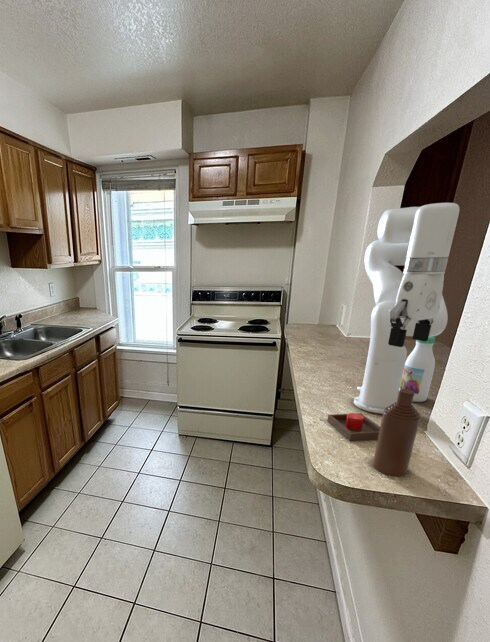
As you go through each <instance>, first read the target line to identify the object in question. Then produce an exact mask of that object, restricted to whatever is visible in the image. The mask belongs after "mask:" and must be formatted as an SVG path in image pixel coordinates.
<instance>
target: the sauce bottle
mask: <svg viewBox="0 0 490 642" xmlns="http://www.w3.org/2000/svg"><path fill="white" fill-rule="evenodd" d="M414 395H415V394H414V391H412V390H408V389H400V390H399V391H398V397H397V402H395V403H394V404H392V405H390V406H388V407H386V408H385V410H384V412H383V414H382V417H381V422H380V425H379V427H380V431H379V436H378V439H377V441H376V445H375V451H374V455H373V460H372V466H373V468H374V469H375V470H377V471H378V472H380V473H381V474H385V475H388V476H392V477H403V476H405V475H406V474H407V473H408V470H409V465H410V461H411V457H412V453H413V449H414V445H415V442H416V437H417V433H418V429H419V425H420V421H421V415H420V413H419V411H418V410H417V409H416V407H414V405H413V402H414V401H413V397H414Z"/></svg>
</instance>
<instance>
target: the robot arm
mask: <svg viewBox="0 0 490 642" xmlns="http://www.w3.org/2000/svg"><path fill="white" fill-rule="evenodd" d="M459 214H460V206H459V204H457V203H456V202H436V203H429V204H424V205H421V206H409V207H399V208H390V209H386V210H385V211H384V212H383V213H382V215H381V216H380V219H379V221H378V224H377V233H376V235H377V239H375V240H374V241H372V242H370V243H369V244H368V246H367V247H366V250H365V253H364V269H365V272H366V275H367V278H368V279H369V281H370V283H371V284H372V290H373V299H374V303H375V306H374V307H373V309H372V311H371V315H370V336H369V337H370V338H369V346H368V352H367V356H366V357H367V358H366V363H365V369H364V374H363V380H362V385H360V386H359V385H358V386H357V388H356V390H357V391H358V392H359V395H358V396H356V397H354V399H353V404H354V405H355V407H357V408H359V409H361V410H363V411H366V412H369V413H373V414H378V415H379V414H380V415H383V412H384V410H385V408H386V407H388V406H390V405H392V404H394V403H395V402H397V398H398V391H399V388H400V383H401V379H402V374H403V370H404V366H405V362H406V360H407V357H408V356H407V355H408V351H407V348H406V346H405V341H406V337H412V340H414V341H416V340H419V341H428V337H436V336H439V335H440V334H442V333H443V332H444V331H445V330H446V328H447V325H448V319H449V317H448V309H447V306H446V302H445V299H444V296H443V292H444V291H443V290H444V281H445V273H446V269H447V265H448V261H449V257H450V252H451V248H452V245H453V239H454V236H455V231H456V227H457V223H458V220H459V216H460V215H459ZM397 266H403V271H402V270H401V269H400V268H398V267H397Z"/></svg>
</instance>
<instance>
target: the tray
mask: <svg viewBox="0 0 490 642" xmlns="http://www.w3.org/2000/svg"><path fill="white" fill-rule="evenodd" d="M355 413H356V414H360V415H362V416H363V417H364V418H363V425H362V429H361V430H351V429H348V428H347V427H346V425H345V424H346V418H347V414H348V413H335V414H328V415H327V419H326V421H327V422H328V424H330V425H331V426H332V427H333V428H335V430H337V432H338V433H340V434H341V435H342V436H343V437H345V438H346V439H347V440H348V441H349V442H353V441H374V440H378V436H379V431H380V425H378V424H377V423H375V422H374V421H373V420H371V419H370V418H368V417H367V416H366V415H364V414H363V413H361V412H355Z"/></svg>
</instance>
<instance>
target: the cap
mask: <svg viewBox="0 0 490 642" xmlns="http://www.w3.org/2000/svg"><path fill="white" fill-rule="evenodd" d="M356 413H357V412H349V413H346V414H347V418H346V424H345V425H346V427H347V428H348V429H351V430H361V429H362V425H363V418H364V417H363V416H362V415H360V414H356Z"/></svg>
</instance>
